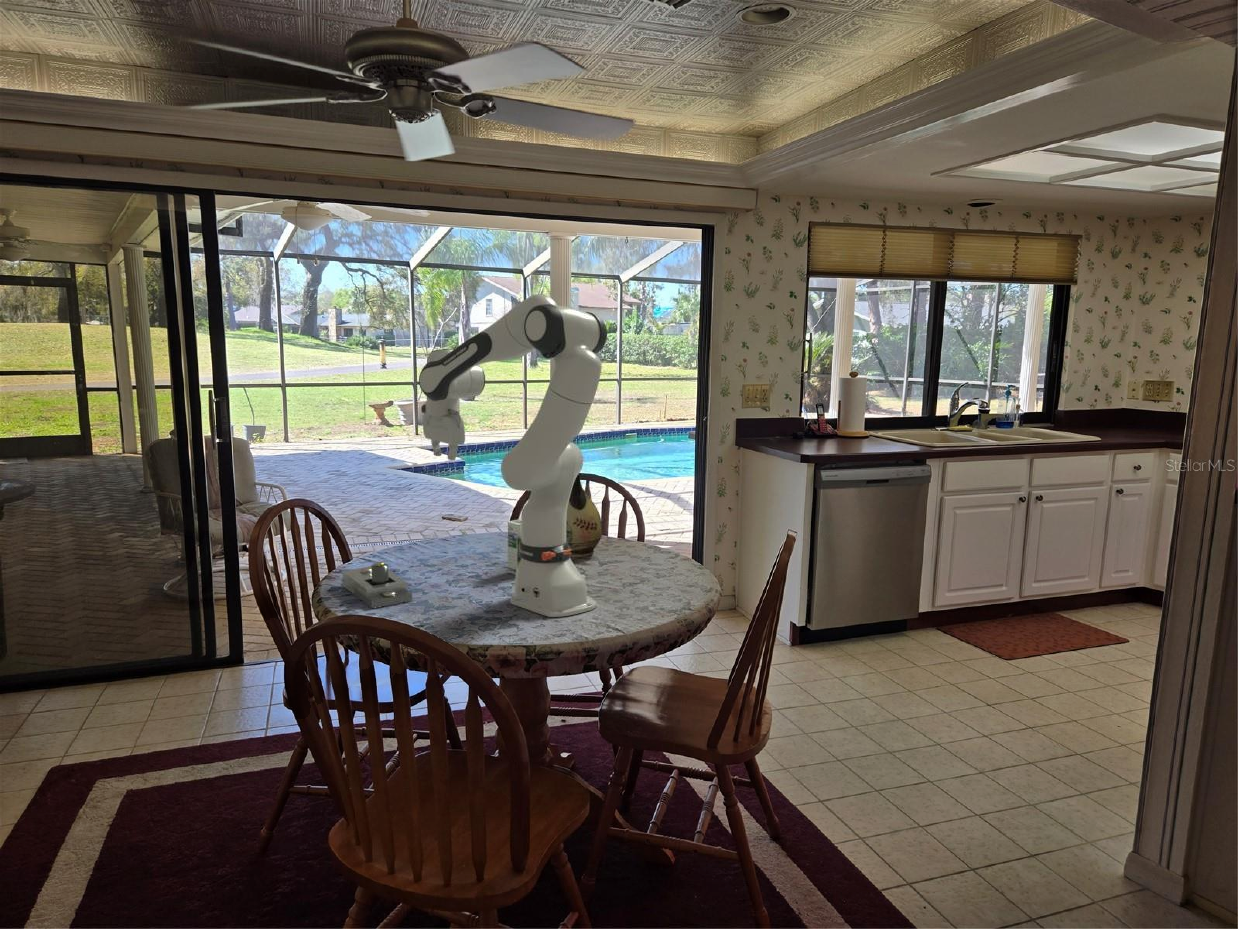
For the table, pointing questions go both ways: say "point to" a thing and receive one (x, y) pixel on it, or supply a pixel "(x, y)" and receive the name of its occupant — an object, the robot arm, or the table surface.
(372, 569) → the pin
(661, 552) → the table surface
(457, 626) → the table surface
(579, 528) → the ceramic jug
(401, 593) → the inner link end
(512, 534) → the syrup box
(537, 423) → the robot arm
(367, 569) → the outer link end
